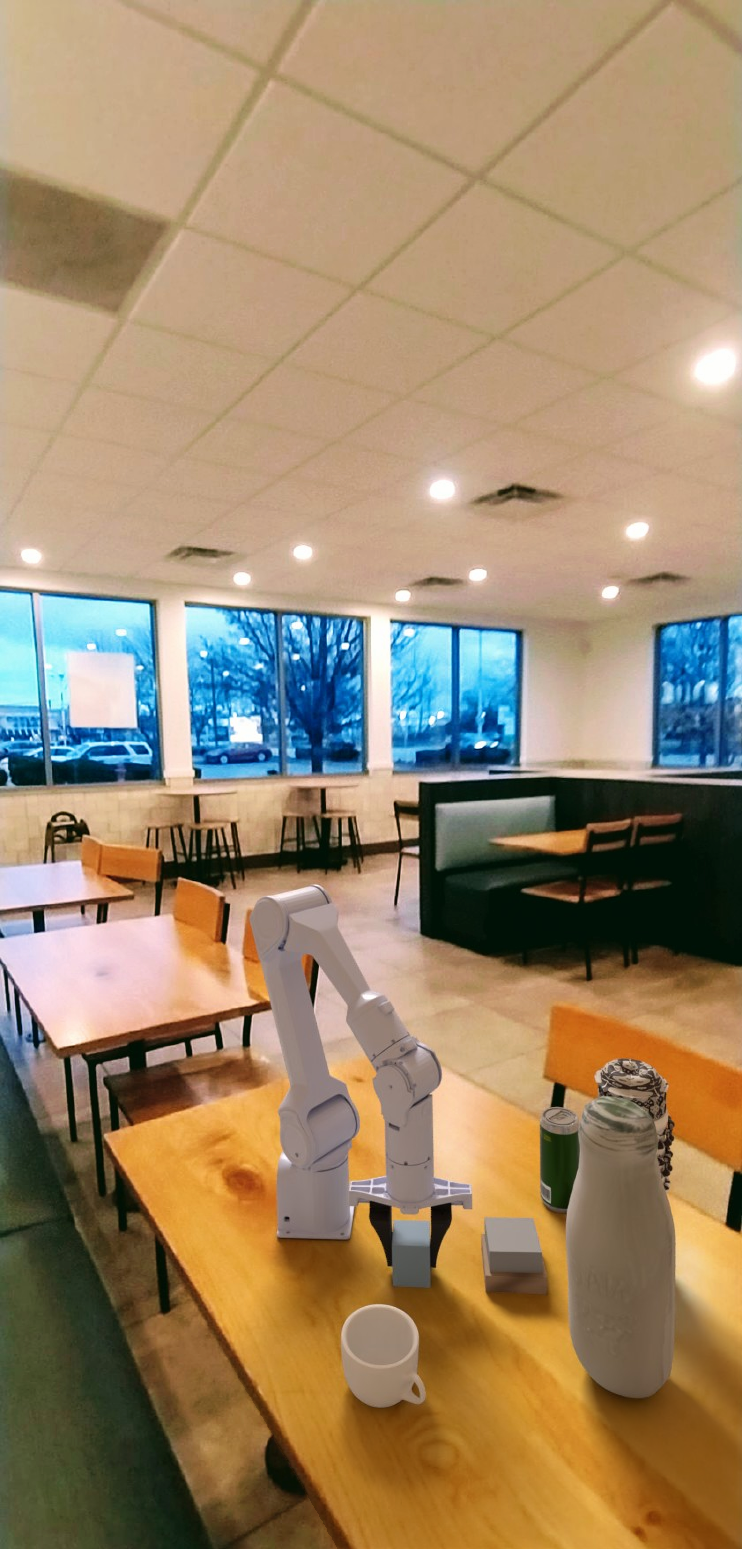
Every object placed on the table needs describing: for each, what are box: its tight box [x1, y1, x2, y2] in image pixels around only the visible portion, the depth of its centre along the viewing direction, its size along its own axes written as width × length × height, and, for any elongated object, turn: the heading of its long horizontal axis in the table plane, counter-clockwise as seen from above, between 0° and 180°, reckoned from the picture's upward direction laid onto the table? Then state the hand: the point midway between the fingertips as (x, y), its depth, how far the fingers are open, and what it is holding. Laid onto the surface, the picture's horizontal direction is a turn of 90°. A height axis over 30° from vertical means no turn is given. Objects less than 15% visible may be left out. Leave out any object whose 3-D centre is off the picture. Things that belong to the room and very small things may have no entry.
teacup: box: [340, 1303, 427, 1409], centre depth 72 cm, size 10×8×5 cm
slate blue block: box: [391, 1219, 432, 1288], centre depth 87 cm, size 4×4×5 cm
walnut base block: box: [480, 1233, 548, 1295], centre depth 88 cm, size 7×7×2 cm
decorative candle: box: [594, 1058, 676, 1194], centre depth 86 cm, size 9×9×25 cm
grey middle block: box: [484, 1216, 543, 1273], centre depth 88 cm, size 6×6×2 cm
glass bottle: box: [565, 1096, 677, 1399], centre depth 72 cm, size 10×10×28 cm
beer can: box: [539, 1106, 580, 1214], centre depth 100 cm, size 5×5×12 cm
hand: (411, 1261), depth 88 cm, fingers closed on slate blue block, 4 cm apart
